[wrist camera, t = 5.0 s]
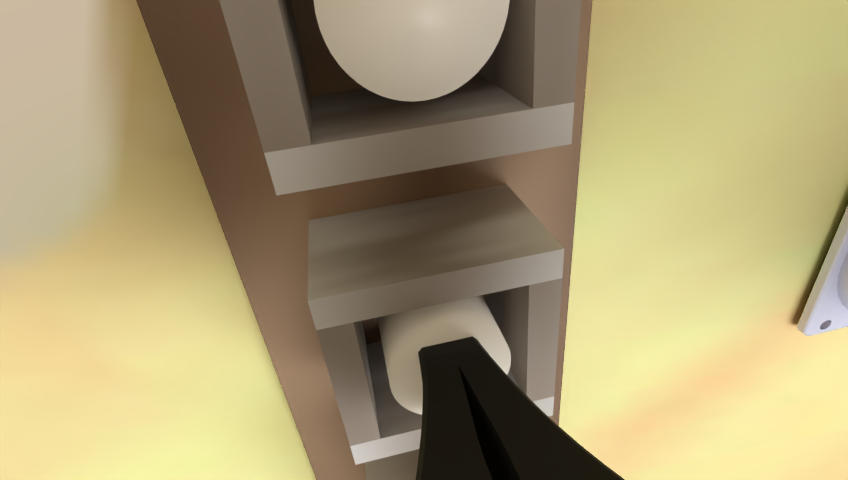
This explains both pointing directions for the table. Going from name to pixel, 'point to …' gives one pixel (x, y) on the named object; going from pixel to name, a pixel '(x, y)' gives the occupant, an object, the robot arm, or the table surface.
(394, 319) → the plug
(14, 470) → the table surface
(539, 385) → the board
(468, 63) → the plug
